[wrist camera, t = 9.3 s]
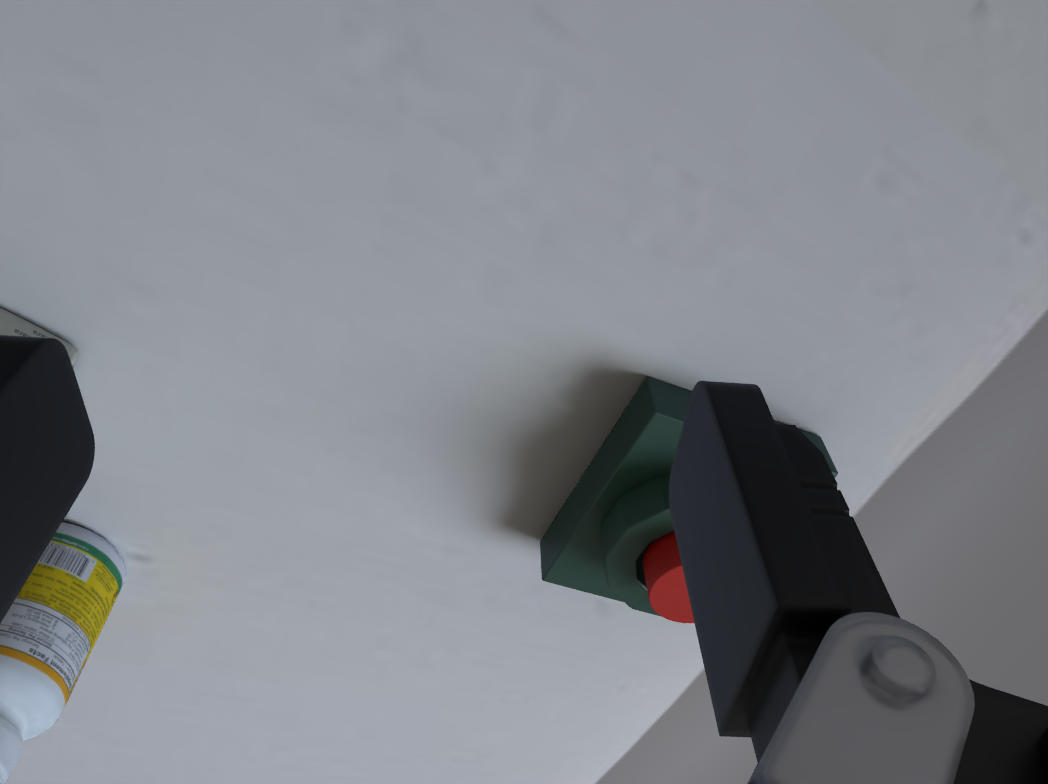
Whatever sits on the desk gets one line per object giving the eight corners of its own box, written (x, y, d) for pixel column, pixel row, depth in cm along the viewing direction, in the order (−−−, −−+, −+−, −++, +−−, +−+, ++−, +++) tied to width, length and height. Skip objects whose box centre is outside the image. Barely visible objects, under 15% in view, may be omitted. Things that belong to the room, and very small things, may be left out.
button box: (646, 375, 30) (663, 445, 27) (821, 435, 32) (855, 507, 29) (539, 541, 35) (542, 616, 32) (693, 584, 38) (711, 658, 34)
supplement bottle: (95, 509, 34) (-25, 722, 26) (149, 589, 37) (56, 799, 29) (-25, 523, 34) (-177, 737, 26) (39, 601, 37) (-80, 811, 30)
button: (671, 515, 29) (679, 551, 28) (753, 540, 30) (765, 576, 29) (626, 574, 31) (631, 610, 30) (704, 595, 32) (713, 632, 31)
